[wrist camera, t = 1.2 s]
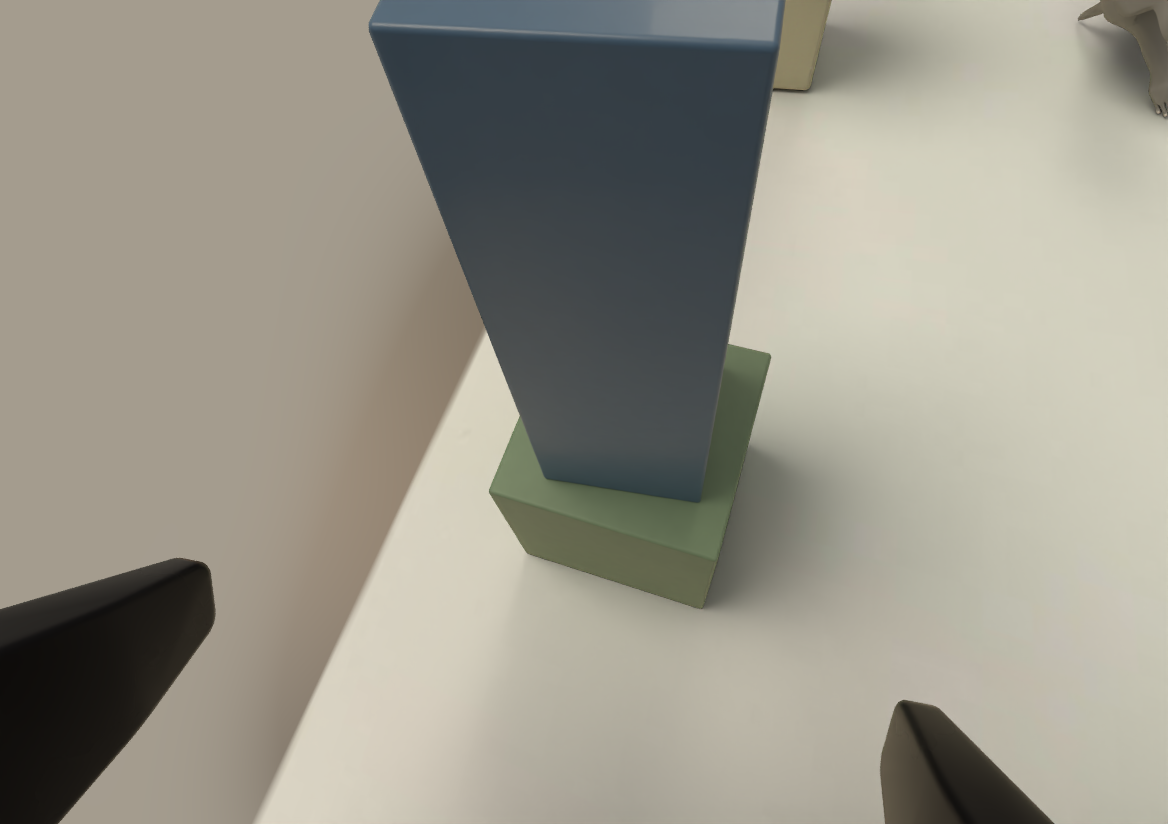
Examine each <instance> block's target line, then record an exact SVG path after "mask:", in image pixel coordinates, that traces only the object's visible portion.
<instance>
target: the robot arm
mask: <svg viewBox="0 0 1168 824" xmlns="http://www.w3.org/2000/svg"><path fill="white" fill-rule="evenodd" d="M214 620H215V604H214V595H213V587H212V579H211V573H210V569H209V568H208V566H207V565H206V564H204V563H203V562H199V561H194V560H189V559H183V558H174V559H170V560H167V561H163V562H160V563H156V564H153V565H150V566H146V567H143V568H140V569H136V570H133V571H129V572H126V573H122V574H119V575H116V576H112V577H109V578H105V579H102V580H98V581H95V582H92V583H88V584H85V585H81V586H78V587H75V588H72V589H68V590H65V591H61V592H58V593H55V594H51V595H48V596H44V597H41V598H37V599H34V600H30V601H27V602H24V603H20V604H17V605H13V606H10V607H6V608H3V609H0V824H58V823H59V822H60V821H61V820H62V819H63V818H64V816H65V815H66V814H67V813H68V812H69V811H70V809H71V808H72V807H73V806H74V805H75V804H76V802H77V801H78V800H79V799H80V798H81V797H82V796H83V794H84V793H85V792H86V791H87V790H88V789H89V787H90V786H91V785H92V784H93V783H94V782H95V780H96V779H97V778H98V777H99V776H100V775H101V773H102V772H103V771H104V770H105V769H106V768H107V766H108V765H109V764H110V763H111V762H112V761H113V760H114V758H115V757H116V756H117V755H118V754H119V753H120V751H121V750H122V749H123V748H124V747H125V746H126V744H127V743H128V742H129V741H130V740H131V738H132V737H133V736H134V735H135V734H136V732H137V731H138V730H139V729H140V727H141V726H142V725H143V723H144V722H145V720H146V719H147V718H148V717H149V716H150V714H151V713H152V712H153V710H154V709H155V707H156V706H157V705H158V703H159V702H160V700H161V699H162V698H163V696H164V695H165V694H166V692H167V691H168V689H169V688H170V687H171V685H172V684H173V682H174V681H175V680H176V678H177V677H178V675H179V674H180V673H181V671H182V670H183V668H184V667H185V666H186V664H187V663H188V661H189V660H190V659H191V657H192V656H193V655H194V653H195V652H196V650H197V649H198V648H199V646H200V645H201V644H202V642H203V641H204V639H205V638H206V637H207V635H208V634H209V632H210V631H211V629H212V626H213V624H214ZM880 776H881V787H882V796H883V806H884V816H885V824H1054V823H1053V822H1052V821H1051V820H1050V819H1049V818H1048V817H1047V816H1046V815H1045V814H1044V813H1043V812H1042V811H1041V810H1040V809H1039V808H1038V807H1037V806H1036V805H1035V804H1034V803H1033V802H1032V801H1031V800H1030V799H1029V798H1028V797H1027V796H1026V795H1025V794H1024V793H1023V792H1022V791H1021V790H1020V789H1019V788H1018V787H1017V786H1016V785H1015V784H1014V783H1013V782H1012V781H1011V780H1010V779H1009V778H1008V777H1007V776H1006V775H1005V774H1004V773H1003V772H1002V771H1001V770H1000V769H999V768H998V767H997V766H996V765H995V764H994V763H993V762H992V761H991V760H990V759H989V758H988V757H987V756H986V755H985V754H984V753H983V752H982V751H981V750H980V749H979V748H978V747H977V746H976V745H975V744H974V743H973V742H972V741H971V740H970V739H969V738H968V737H967V736H966V735H965V734H964V733H963V732H962V731H961V730H960V729H959V728H958V727H957V726H956V725H955V724H954V723H953V722H952V721H951V720H950V719H949V718H948V717H947V716H946V715H945V714H944V713H943V712H942V711H941V710H940V709H939V708H937V707H936V706H933V705H929V704H923V703H918V702H913V701H908V700H902V701H900V702H898V703H897V705H896V707H895V709H894V712H893V715H892V719H891V722H890V726H889V729H888V733H887V736H886V740H885V743H884V747H883V751H882V755H881V763H880Z"/></svg>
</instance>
